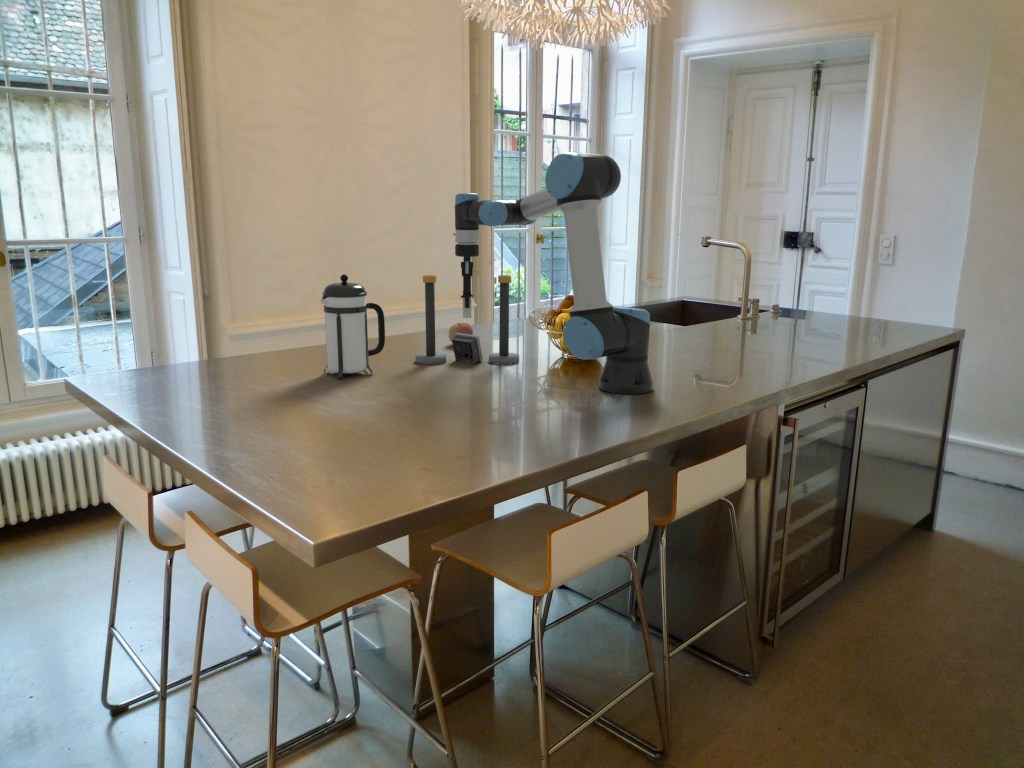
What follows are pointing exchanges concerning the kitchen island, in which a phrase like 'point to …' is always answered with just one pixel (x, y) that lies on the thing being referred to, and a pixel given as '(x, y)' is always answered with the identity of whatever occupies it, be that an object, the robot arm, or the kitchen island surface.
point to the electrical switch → (467, 348)
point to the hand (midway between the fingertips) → (467, 317)
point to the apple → (460, 330)
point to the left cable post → (430, 326)
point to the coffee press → (349, 328)
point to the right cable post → (504, 325)
